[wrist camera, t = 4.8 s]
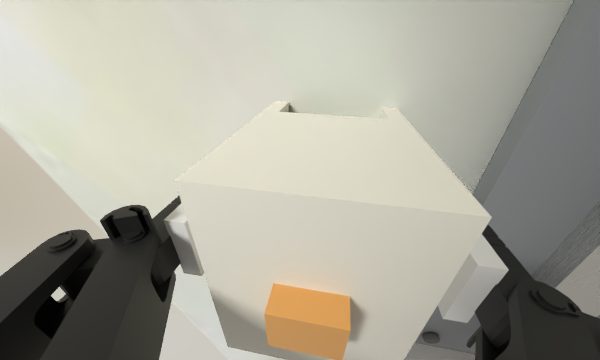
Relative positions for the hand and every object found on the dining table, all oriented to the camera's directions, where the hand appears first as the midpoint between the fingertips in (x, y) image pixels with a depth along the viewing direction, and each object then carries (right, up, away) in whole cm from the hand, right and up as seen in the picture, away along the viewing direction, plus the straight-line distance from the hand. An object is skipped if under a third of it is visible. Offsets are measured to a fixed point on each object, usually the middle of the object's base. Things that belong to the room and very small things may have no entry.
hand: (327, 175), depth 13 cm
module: (0, 0, 0) cm, 0 cm away
